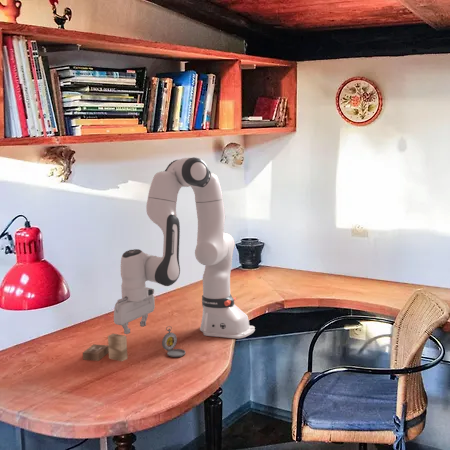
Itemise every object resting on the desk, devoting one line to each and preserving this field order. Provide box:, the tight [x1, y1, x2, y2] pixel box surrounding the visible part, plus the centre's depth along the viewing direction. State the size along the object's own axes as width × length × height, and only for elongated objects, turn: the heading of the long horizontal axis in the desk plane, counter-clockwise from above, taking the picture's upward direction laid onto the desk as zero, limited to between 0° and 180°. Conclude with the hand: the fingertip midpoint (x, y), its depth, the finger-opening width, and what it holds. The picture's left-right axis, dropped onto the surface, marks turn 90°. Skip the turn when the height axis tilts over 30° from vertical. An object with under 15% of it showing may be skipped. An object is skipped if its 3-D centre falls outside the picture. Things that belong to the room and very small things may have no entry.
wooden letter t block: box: [107, 333, 128, 362], centre depth 222 cm, size 6×3×8 cm, turn 60°
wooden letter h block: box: [82, 343, 109, 362], centre depth 226 cm, size 6×3×8 cm
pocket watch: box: [161, 325, 186, 358], centre depth 225 cm, size 8×8×10 cm
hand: (135, 329), depth 231 cm, fingers open, 8 cm apart
